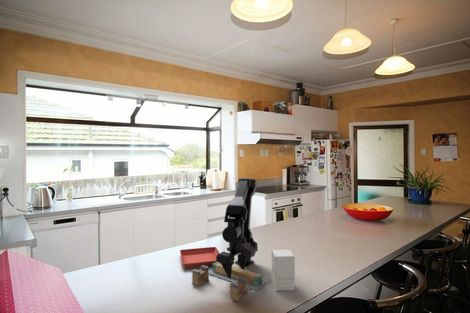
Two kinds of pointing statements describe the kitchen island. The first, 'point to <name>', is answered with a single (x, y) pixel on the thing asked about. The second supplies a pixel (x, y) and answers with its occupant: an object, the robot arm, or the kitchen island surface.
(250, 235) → the robot arm
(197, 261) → the plant saucer
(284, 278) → the supplement box
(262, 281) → the mat
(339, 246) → the kitchen island surface
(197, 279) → the post
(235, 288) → the post
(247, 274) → the rail
